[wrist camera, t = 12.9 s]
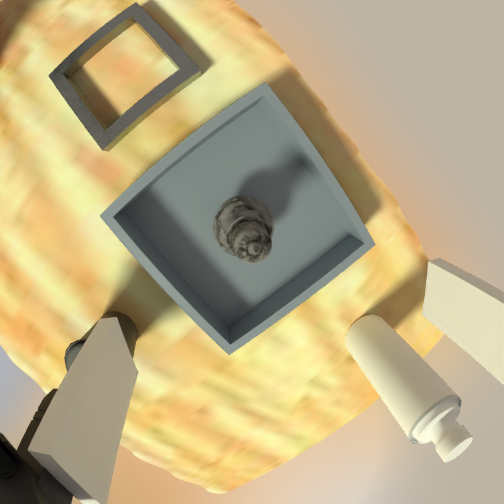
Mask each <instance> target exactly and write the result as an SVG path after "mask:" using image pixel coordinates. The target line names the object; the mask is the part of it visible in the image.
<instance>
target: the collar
mask: <svg viewBox="0 0 504 504" xmlns="http://www.w3.org/2000/svg"><path fill="white" fill-rule="evenodd" d="M135 23H136V24H137V25H138V26H139V27H140V28H141V30H142V31H143V32H144V33H145V34H146V35H147V36H148V37H149V38H150V39H151V40H152V41H153V42H154V43H155V45H156V46H157V47H158V48H159V49H160V50H161V51H162V52H163V53H164V55H165V56H166V57H167V58H168V59H169V60H170V61H171V62H172V63H173V65H174V66H175V67H176V68H177V69H178V71H177V72H175V73H174V74H172V75H171V76H170V77H168V78H167V79H166V80H164V81H163V82H162V83H160V84H159V85H158V86H156V87H155V88H154V89H153V90H151V91H150V92H149V93H148V94H146V95H145V96H144V97H143V98H141V99H140V100H139V101H138V102H137V103H135V104H134V105H133V106H132V107H131V108H130V109H128V110H127V111H126V112H125V113H124V114H123V115H122V116H121V117H119V118H118V119H117V120H116V121H115V122H114V123H113V124H112V125H111V126H110V127H109V128H107V127H106V125H105V124H104V123H103V121H102V120H101V119H100V117H99V116H98V115H97V113H96V112H95V111H94V110H93V108H92V107H91V106H90V104H89V103H88V102H87V100H86V99H85V98H84V96H83V95H82V94H81V92H80V91H79V90H78V88H77V87H76V85H75V84H74V83H73V81H72V80H71V79H70V77H71V76H72V75H73V74H74V73H75V72H76V71H77V70H78V69H79V68H80V67H81V66H83V65H84V64H85V63H86V62H87V61H88V60H89V59H90V58H91V57H93V56H94V55H95V54H96V53H97V52H98V51H100V50H101V49H102V48H103V47H104V46H106V45H107V44H108V43H109V42H111V41H112V40H113V39H114V38H116V37H117V36H118V35H120V34H121V33H122V32H124V31H125V30H126V29H128V28H129V27H130V26H132V25H133V24H135ZM200 76H201V70H200V69H199V68H198V67H197V66H196V64H195V63H194V62H193V61H192V60H191V59H190V58H189V57H188V56H187V54H186V53H185V52H184V51H183V50H182V49H181V48H180V47H179V46H178V45H177V44H176V42H175V41H174V40H173V39H172V38H171V37H170V36H169V35H168V34H167V33H166V32H165V31H164V30H163V29H162V28H161V27H160V26H159V25H158V24H157V23H156V21H155V20H154V19H153V18H152V17H151V16H150V15H149V14H148V13H147V12H146V11H145V10H144V9H143V8H142V7H141V6H140V5H138V4H137V3H134V4H133V5H131V6H130V7H128V8H127V9H125V10H124V11H122V12H121V13H120V14H118V15H117V16H116V17H114V18H113V19H112V20H110V21H109V22H108V23H106V24H105V25H104V26H102V27H101V28H100V29H99V30H97V31H96V32H95V33H94V34H93V35H91V36H90V37H89V38H88V39H87V40H85V41H84V42H83V43H82V44H81V45H80V46H79V47H77V48H76V49H75V50H74V51H73V52H72V53H71V54H70V55H69V56H68V57H67V58H66V59H65V60H64V61H63V62H61V63H60V64H59V65H58V66H57V67H56V68H55V69H54V70H53V72H52V73H51V74H50V75H49V77H50V79H51V80H52V82H53V83H54V85H55V86H56V88H57V89H58V90H59V92H60V93H61V95H62V96H63V98H64V99H65V100H66V102H67V103H68V105H69V106H70V107H71V109H72V110H73V111H74V113H75V114H76V116H77V117H78V118H79V120H80V121H81V122H82V124H83V125H84V127H85V128H86V129H87V131H88V132H89V133H90V135H91V136H92V137H93V139H94V140H95V141H96V143H97V144H98V145H99V147H100V148H101V149H102V150H103V151H110V150H111V149H112V148H113V147H114V146H115V145H116V144H117V143H118V142H119V141H120V140H121V139H122V138H124V137H125V136H126V135H127V134H128V133H129V132H130V131H131V130H132V129H134V128H135V127H136V126H137V125H138V124H139V123H141V122H142V121H143V120H144V119H145V118H146V117H148V116H149V115H150V114H151V113H152V112H154V111H155V110H156V109H157V108H159V107H160V106H161V105H162V104H164V103H165V102H166V101H168V100H169V99H170V98H171V97H173V96H174V95H175V94H177V93H178V92H179V91H181V90H182V89H183V88H185V87H186V86H188V85H189V84H190V83H192V82H193V81H195V80H196V79H197V78H199V77H200Z"/></svg>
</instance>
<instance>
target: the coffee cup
mask: <svg viewBox="0 0 504 504" xmlns="http://www.w3.org/2000/svg"><path fill="white" fill-rule="evenodd" d="M112 317H117V319H118V322H119V325H120V327H121V330H122V333H123V336H124V338H125V341H126V344H127V346H128V349H129V351H130V354H131V356H132V359H133V356H134V350H135V344H136V339H137V329H136V326H135V324H134V323H133V321H132V320H131V319H130V318H129V317H128V316H126V315H124V314H122V313H119V312H108V313H106V314H104V315H103V316H102V317H101V318H100V319H103V318H112ZM100 319H99V320H100ZM99 320H98V321H99ZM98 321H97V322H96V323H95V325H94V326H93V327H92V328H91V329H90V330H89V331H88V332H87V333H86V334H85V335H84V336H83V337H82V338H81V339H80V340H77V341H75V342H73V343H71V344H70V345H69V347H68V348H67V349H66V352H65V365H66V369H67V371H68V370H69V369H70V367H71V365H72V363H73V362H74V360H75V358H76V357H77V355H78V353H79V352H80V350H81V348H82V347H83V345H84V343H85V342H86V340H87V338H88V337H89V335H90V334H91V332H92V330H93V329H94V327H95V326H96V324H97V323H98Z"/></svg>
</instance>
